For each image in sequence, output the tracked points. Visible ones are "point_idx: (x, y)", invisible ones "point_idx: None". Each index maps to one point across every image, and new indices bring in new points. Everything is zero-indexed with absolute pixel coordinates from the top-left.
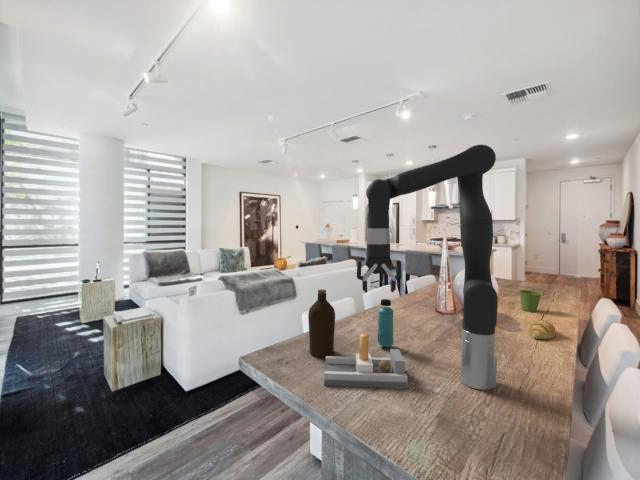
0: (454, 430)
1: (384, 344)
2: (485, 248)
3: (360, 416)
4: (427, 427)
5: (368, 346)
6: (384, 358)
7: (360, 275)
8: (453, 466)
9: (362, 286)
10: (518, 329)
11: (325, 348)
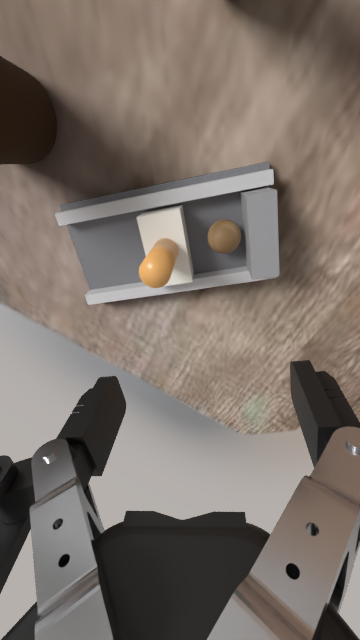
0: None
1: None
2: None
3: (180, 367)
4: (280, 373)
5: (174, 264)
6: (225, 184)
7: (23, 534)
8: (291, 423)
9: (75, 409)
10: None
11: (30, 156)
